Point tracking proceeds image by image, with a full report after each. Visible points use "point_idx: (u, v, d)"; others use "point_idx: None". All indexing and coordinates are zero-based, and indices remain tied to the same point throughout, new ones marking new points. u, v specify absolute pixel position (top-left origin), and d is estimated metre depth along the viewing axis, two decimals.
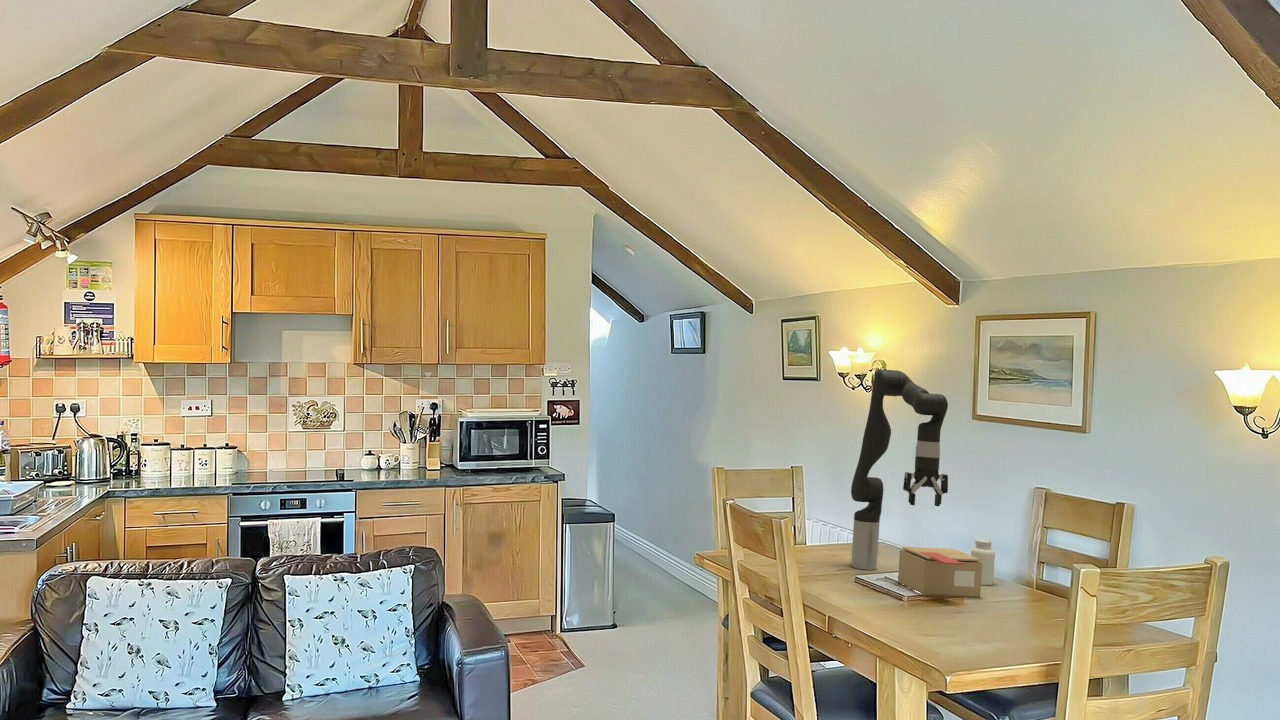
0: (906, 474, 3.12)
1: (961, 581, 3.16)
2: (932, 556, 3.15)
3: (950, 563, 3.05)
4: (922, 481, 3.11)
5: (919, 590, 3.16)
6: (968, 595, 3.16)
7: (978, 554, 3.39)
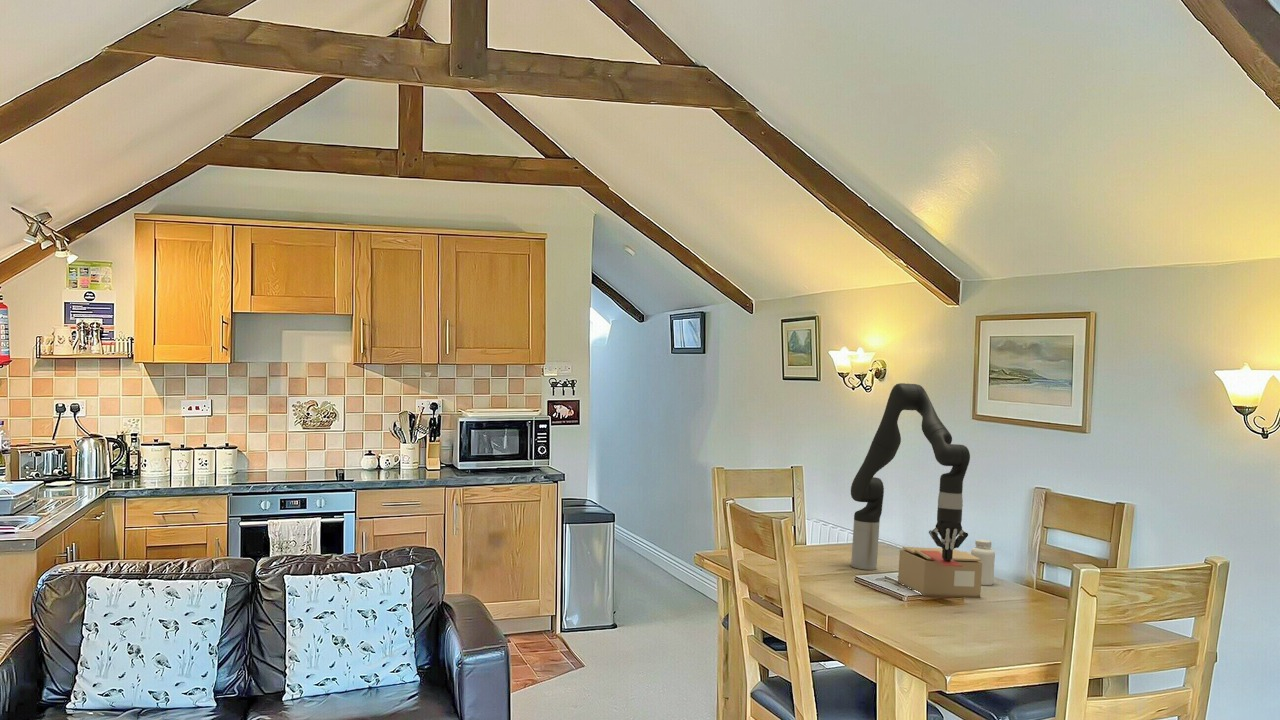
0: (930, 534, 3.09)
1: (961, 581, 3.16)
2: (932, 556, 3.15)
3: (950, 565, 3.05)
4: (947, 534, 3.08)
5: (919, 590, 3.16)
6: (968, 595, 3.16)
7: (978, 554, 3.39)
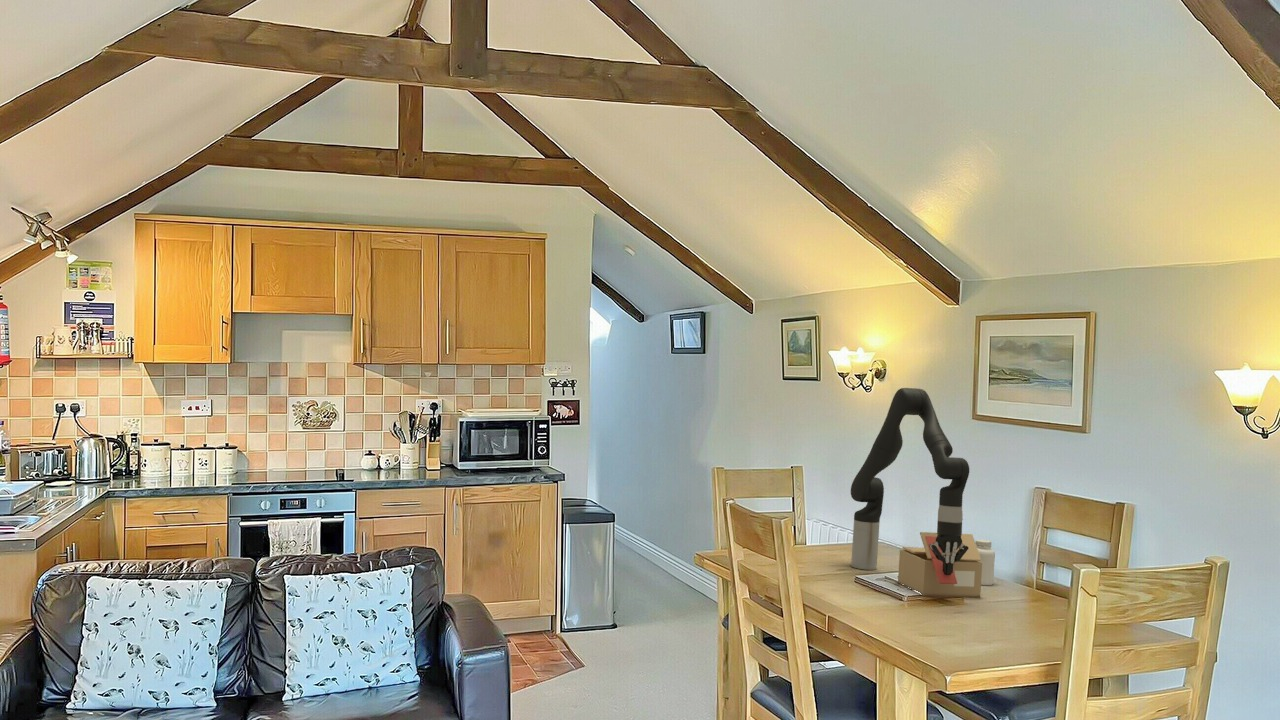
0: (931, 547, 3.08)
1: (961, 581, 3.16)
2: (933, 554, 3.14)
3: (945, 583, 3.07)
4: (947, 547, 3.07)
5: (919, 590, 3.16)
6: (968, 595, 3.16)
7: None
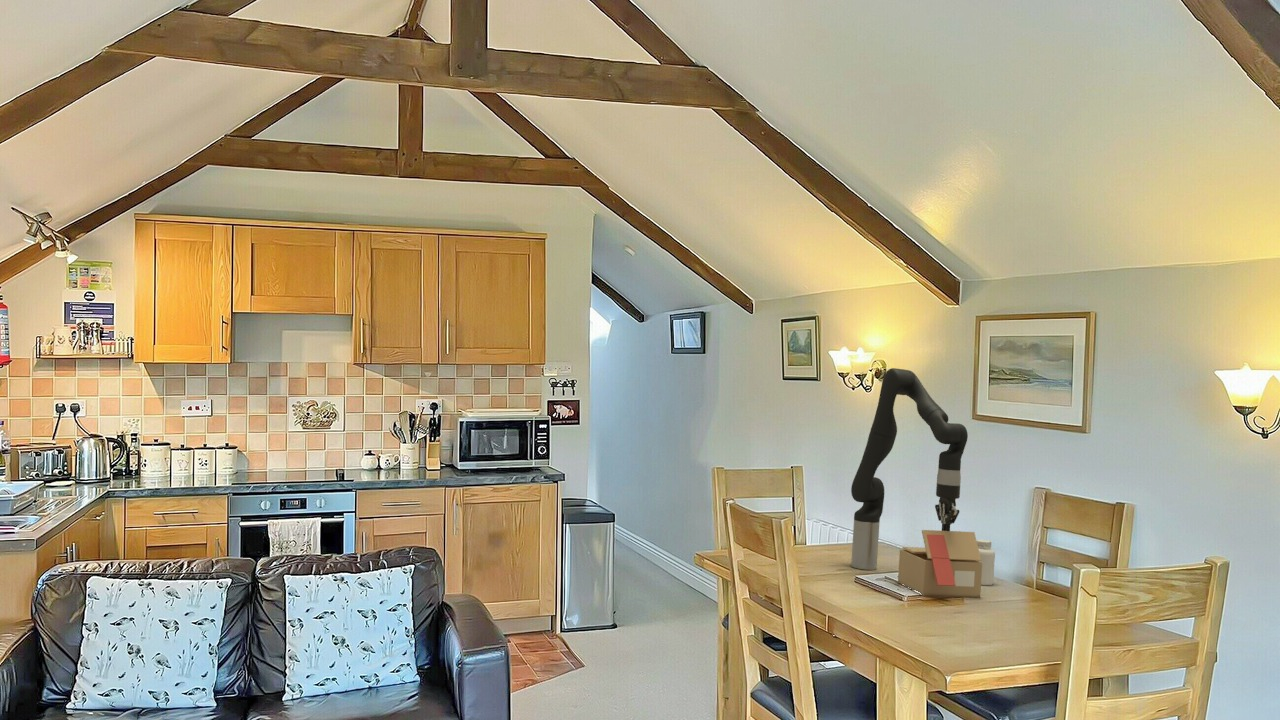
0: None
1: (961, 581, 3.16)
2: (933, 554, 3.14)
3: (943, 585, 3.09)
4: (940, 508, 3.23)
5: (919, 590, 3.16)
6: (968, 595, 3.16)
7: None
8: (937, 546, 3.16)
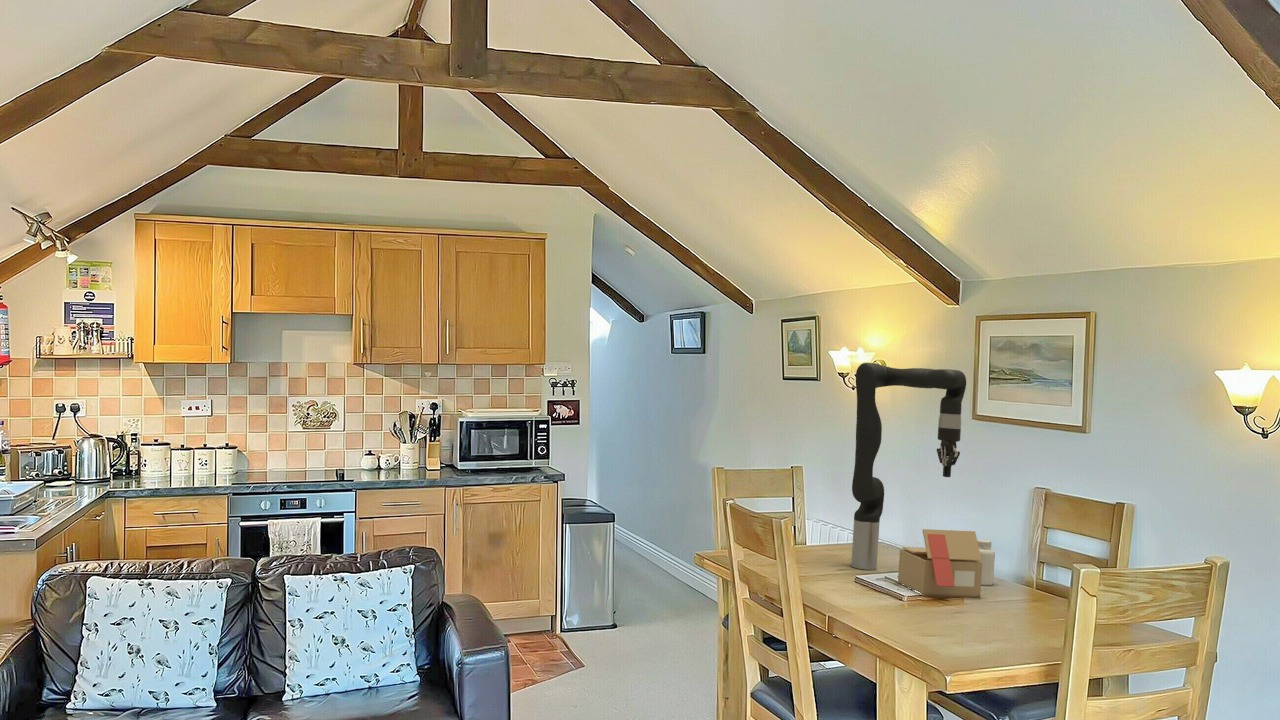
0: None
1: (961, 581, 3.16)
2: (934, 554, 3.14)
3: None
4: (941, 451, 3.37)
5: (919, 590, 3.16)
6: (968, 595, 3.16)
7: None
8: (937, 546, 3.16)
